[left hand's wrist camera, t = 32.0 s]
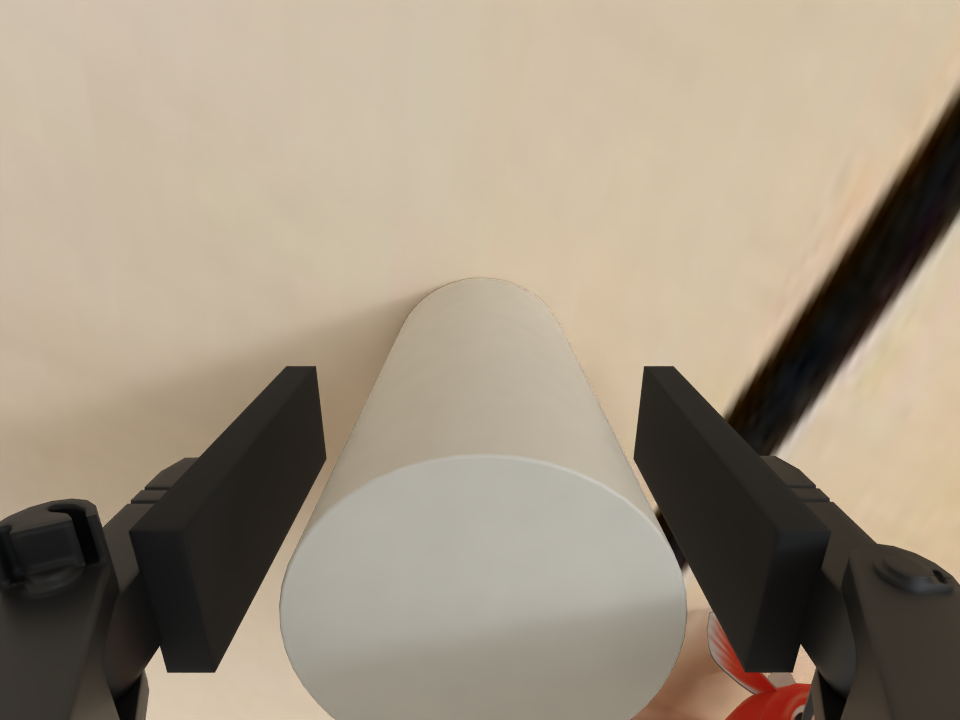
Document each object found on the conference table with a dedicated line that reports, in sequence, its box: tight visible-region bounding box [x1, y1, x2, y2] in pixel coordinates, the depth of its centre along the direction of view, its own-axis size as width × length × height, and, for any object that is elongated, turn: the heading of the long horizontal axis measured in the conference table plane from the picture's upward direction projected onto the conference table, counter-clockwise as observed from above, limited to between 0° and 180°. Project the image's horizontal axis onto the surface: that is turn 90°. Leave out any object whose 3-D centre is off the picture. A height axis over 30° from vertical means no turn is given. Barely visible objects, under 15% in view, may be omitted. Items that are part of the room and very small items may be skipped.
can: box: [279, 278, 687, 720], centre depth 13 cm, size 6×6×11 cm
